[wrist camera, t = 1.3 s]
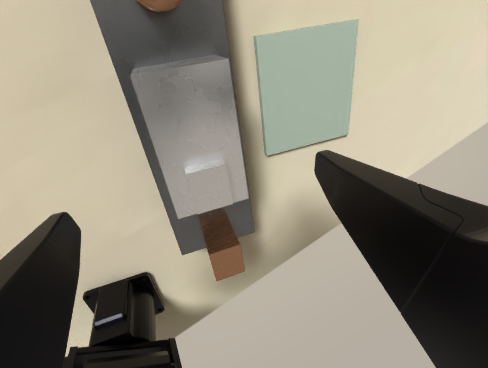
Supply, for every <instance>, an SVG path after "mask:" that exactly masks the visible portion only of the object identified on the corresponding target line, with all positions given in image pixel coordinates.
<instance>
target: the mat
mask: <svg viewBox="0 0 488 368" xmlns="http://www.w3.org/2000/svg"><path fill="white" fill-rule="evenodd" d="M358 20H359V19H358ZM358 20H350V21H344V22H338V23H332V24H326V25H320V26H314V27H307V28H301V29H295V30H289V31H283V32H277V33H271V34H265V35H259V36H254V44H255V55H256V65H257V76H258V86H259V97H260V108H261V118H262V129H263V140H264V150H265V155H266V156H268V155H272V154H276V153H280V152H283V151H287V150H291V149H295V148H299V147H302V146H306V145H310V144H314V143H318V142H321V141H325V140H329V139H333V138H336V137H340V136H344V135H348V132H349V121H350V110H351V99H352V87H353V76H354V65H355V54H356V42H357V31H358Z"/></svg>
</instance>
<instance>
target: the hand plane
mask: <svg viewBox="0 0 488 368" xmlns="http://www.w3.org/2000/svg"><path fill="white" fill-rule="evenodd" d="M90 1H91V4H92V7H93V10H94V12H95V15H96V18H97V21H98V24H99V26H100V29H101V32H102V35H103V37H104V40H105V43H106V46H107V48H108V51H109V54H110V57H111V60H112V62H113V65H114V68H115V71H116V73H117V76H118V79H119V82H120V84H121V87H122V90H123V93H124V96H125V98H126V101H127V104H128V107H129V109H130V112H131V115H132V118H133V120H134V123H135V126H136V129H137V132H138V134H139V137H140V140H141V143H142V145H143V148H144V151H145V154H146V156H147V159H148V162H149V165H150V168H151V170H152V173H153V176H154V179H155V181H156V184H157V187H158V190H159V192H160V195H161V198H162V201H163V204H164V206H165V209H166V212H167V215H168V217H169V220H170V223H171V226H172V228H173V231H174V234H175V237H176V240H177V242H178V245H179V248H180V251H181V253H182V255H185V254H188V253H191V252H194V251H197V250H200V249H203V248H207V249H208V253H209V257H210V260H211V264H212V267H213V271H214V274H215V278H216V281H219V280H221V279H224V278H227V277H230V276H233V275H236V274H238V273H241V272H244V271H245V268H244V263H243V258H242V252H241V247H240V243H239V241H238V239H237V237H241V236H244V235H247V234H250V233H253V232H255V230H254V223H253V216H252V209H251V202H250V195H249V188H248V181H247V174H246V166H245V159H244V152H243V145H242V138H241V131H240V124H239V117H238V110H237V103H236V96H235V89H234V82H233V75H232V67H231V60H230V53H229V46H228V39H227V32H226V25H225V18H224V11H223V4H222V0H90ZM210 55H217V56H221V57H224V58H228V59H229V66H230V73H231V79H232V86H233V93H234V100H235V107H236V114H237V121H238V128H239V135H240V142H241V149H242V155H243V162H244V169H245V176H246V183H247V190H248V197H249V198H248V199H245V200H242V201H238V202H235V203H233V204H231V205H228V206H224V207H221V208H218V209H214V210H211V211H208V212H204V213H201V214H194V215H191V216H187V217H184V218H180V219H178V217H177V214H176V211H175V208H174V205H173V202H172V199H171V196H170V193H169V190H168V187H167V184H166V181H165V178H164V175H163V172H162V169H161V166H160V163H159V161H158V158H157V155H156V152H155V149H154V146H153V143H152V140H151V137H150V134H149V131H148V128H147V125H146V122H145V119H144V116H143V113H142V110H141V107H140V104H139V101H138V98H137V95H136V92H135V89H134V86H133V83H132V80H131V77H130V75H131V73H132V71H133V69H135V68H141V67H147V66H152V65H158V64H164V63H170V62H175V61H181V60H187V59H193V58H199V57H204V56H210Z"/></svg>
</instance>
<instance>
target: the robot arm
mask: <svg viewBox="0 0 488 368" xmlns="http://www.w3.org/2000/svg"><path fill="white" fill-rule="evenodd" d="M314 171H315V175H316V177H317V179H318V181H319V183H320V185H321V187H322V189H323V192H324V194H325V196H326V198H327V200H328V202H329V203H330V205H331V207H332V209H333V210H334V212H335V213H336V215H337V217H338V218H339V220H340V221H341V223H342V224H343V226H344V227H345V229H346V230H347V232H348V233H349V235H350V236H351V238H352V240H353V241H354V243H355V244H356V246H357V247H358V249H359V250H360V251H361V253H362V255H363V256H364V258H365V259H366V261H367V262H368V264H369V266H370V267H371V269H372V270H373V272H374V273H375V275H376V276H377V278H378V279H379V281H380V282H381V284H382V285H383V287H384V289H385V290H386V292H387V293H388V295H389V296H390V298H391V299H392V301H393V302H394V303H395V305H396V307H397V308H398V310H399V311H400V312H401V315H402V316H403V318H404V319H405V321H406V322H407V324H408V325H409V327H410V328H411V330H412V332H413V333H414V335H415V336H416V338H417V339H418V341H419V342H420V344H421V345H422V347H423V348H424V350H425V351H426V353H427V355H428V356H429V358H430V359H431V361H432V362H433V364H434V365H435V367H436V368H488V206H486V205H483V204H479V203H476V202H473V201H470V200H466V199H463V198H460V197H457V196H454V195H450V194H447V193H444V192H441V191H439V190H436V189H432V188H430V187H427V186H425V185H422V184H417V183H416V182H413V181H411V180H408V179H406V178H403V177H400V176H397V175H395V174H392V173H389V172H386V171H384V170H381V169H378V168H375V167H373V166H370V165H367V164H365V163H362V162H359V161H356V160H354V159H351V158H348V157H345V156H343V155H340V154H337V153H334V152H332V151H329V150H324V151H320V152H318V153H317V154H316V158H315V169H314ZM80 248H81V230H80V228H79V226H78V225H77V224H76V222H75V221H74V220H73V218H72V217H71V216H70V215H69V214H68V213H67V212H61V213H57V214H53V215H51V216H50V217H49V218H48V219H46V220H45V221H44V222H43V223H42V224H41V225H40V226H38V227H37V228H36V229H35V230H34V231H33V232H32V233H31V234H29V235H28V236H27V237H26V238H25V239H24V240H23V241H21V242H20V243H19V244H18V245H17V246H16V247H15V248H13V249H12V250H11V251H10V252H9V253H8V254H7V255H6V256H4V257H3V258H2V259H1V260H0V368H182V366H181V362H180V358H179V354H178V349H177V345H176V341H175V338H169V340H158V341H156V334H155V315H156V314H158V313H161V312H163V311H164V304H163V302H162V300H161V298H160V296H159V294H158V292H157V290H156V287H155V285H154V283H153V281H152V279H151V277H150V275H149V274H148V273H141V274H138V275H135V276H132V277H129V278H126V279H123V280H120V281H117V282H114V283H111V284H108V285H104V286H101V287H98V288H95V289H92V290H89V291H86V292H85V293H84V295H83V300H84V301H85V303H86V304H87V305H88V307H89V308H90V309H91V311H92V312H93V313H94V319H93V326H92V331H91V337H90V342H89V347H79V348H78V346H77V347H70V351H69V354H68V357H65V353H66V348H67V342H68V336H69V330H70V324H71V319H72V313H73V307H74V301H75V295H76V290H77V284H78V278H79V269H80ZM143 277H146V278H143Z"/></svg>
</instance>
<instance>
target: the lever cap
mask: <svg viewBox="0 0 488 368" xmlns="http://www.w3.org/2000/svg"><path fill="white" fill-rule="evenodd" d="M130 77H131V80H132V83H133V86H134V89H135V92H136V95H137V98H138V101H139V104H140V107H141V110H142V113H143V116H144V119H145V122H146V125H147V128H148V131H149V134H150V137H151V140H152V143H153V146H154V149H155V152H156V155H157V158H158V161H159V163H160V166H161V169H162V172H163V175H164V178H165V181H166V184H167V187H168V190H169V193H170V196H171V199H172V202H173V205H174V208H175V211H176V214H177V217H178V219H180V218H184V217H187V216H191V215H194V214H201V213H204V212H208V211H211V210H214V209H218V208H221V207H224V206H228V205H231V204H233V203H235V202H238V201H242V200H245V199H248V198H249V197H248V190H247V183H246V176H245V169H244V162H243V155H242V149H241V142H240V135H239V128H238V121H237V114H236V107H235V100H234V93H233V86H232V79H231V73H230V66H229V59H228V58H224V57H221V56H217V55H210V56H204V57H199V58H193V59H187V60H181V61H175V62H170V63H164V64H158V65H152V66H147V67H141V68H135V69H133V71H132V73H131V75H130Z"/></svg>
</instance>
